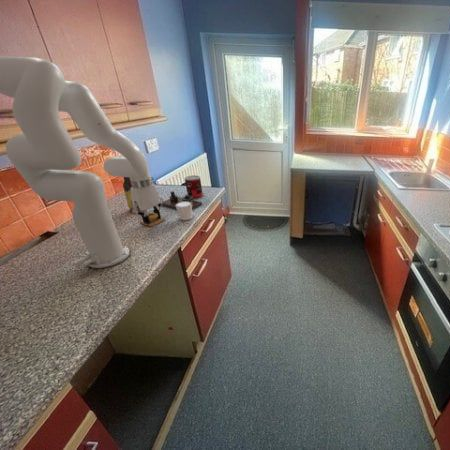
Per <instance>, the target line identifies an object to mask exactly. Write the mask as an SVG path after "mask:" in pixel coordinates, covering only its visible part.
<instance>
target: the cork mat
mask: <svg viewBox="0 0 450 450" xmlns="http://www.w3.org/2000/svg"><path fill="white" fill-rule="evenodd" d="M163 222H165V219H164V218H162V217H161V218H160V219H158V218H155V219H150V224H147V223H144V222H143V221H140V224H142V225H144V226H147V227H154V226H156V225H158V224H160V223H163Z"/></svg>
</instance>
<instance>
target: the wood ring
mask: <svg viewBox="0 0 450 450" xmlns="http://www.w3.org/2000/svg"><path fill="white" fill-rule="evenodd" d="M181 198H182V201H186V202H187V201H191V200H194V198H193V197H192V196H189V199H186V198H185V196H183V197H181Z"/></svg>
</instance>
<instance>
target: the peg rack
mask: <svg viewBox="0 0 450 450" xmlns="http://www.w3.org/2000/svg"><path fill="white" fill-rule="evenodd" d="M169 193H170V196H169V197H168V198H169V199H166V200H163V202H162V204H161V207H162V206H163V207H167V208H170V209H175V210H177V209H176V206H175V205H176V204H177V203H179V202H185V201H182V197H181V196H178V195H177V194H175V191H174V190H171V191H170V192H169ZM184 197H185V198H186V199H189V195H188V194H184ZM187 202H191V205H192V211H193V210H194V209H197V208H198V207H200V206H202V205H203V202H202V201H198V200H194V199H193V200H191V201H187Z"/></svg>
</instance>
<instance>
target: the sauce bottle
mask: <svg viewBox="0 0 450 450" xmlns="http://www.w3.org/2000/svg"><path fill="white" fill-rule="evenodd" d="M122 187H123V192H124V196H125V199H126V203H127V206H128V208H129V211H130V212H132V210H133V208H134V206H133V203H132V198H131V187H132V184H131V181H130V178H129V177H123V183H122ZM138 211H139V212H140V208H139V209H138Z"/></svg>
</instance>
